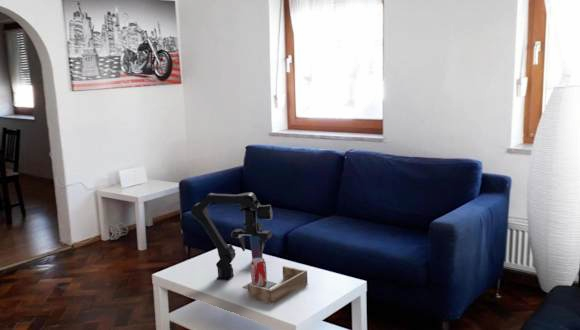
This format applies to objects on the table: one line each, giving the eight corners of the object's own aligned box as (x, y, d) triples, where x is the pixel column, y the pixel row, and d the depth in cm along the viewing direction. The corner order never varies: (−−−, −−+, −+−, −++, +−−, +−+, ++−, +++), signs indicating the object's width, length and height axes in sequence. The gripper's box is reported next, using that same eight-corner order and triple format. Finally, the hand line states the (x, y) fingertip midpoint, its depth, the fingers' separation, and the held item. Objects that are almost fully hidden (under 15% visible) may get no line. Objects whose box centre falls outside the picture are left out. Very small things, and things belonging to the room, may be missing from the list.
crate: (248, 297, 237) (247, 284, 236) (284, 277, 258) (284, 265, 257) (272, 304, 229) (271, 290, 228) (307, 283, 250) (307, 270, 249)
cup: (250, 259, 285) (249, 232, 282) (263, 258, 285) (262, 231, 283) (251, 264, 278) (249, 236, 276) (264, 263, 279) (262, 235, 276)
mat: (242, 287, 249) (242, 286, 249) (257, 279, 257) (257, 278, 257) (261, 292, 242) (261, 291, 242) (276, 283, 251) (276, 283, 251)
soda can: (265, 288, 246) (263, 262, 244) (249, 287, 247) (248, 262, 245) (268, 282, 252) (267, 257, 250) (254, 281, 254) (252, 256, 252)
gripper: (275, 216, 259) (277, 247, 261) (240, 214, 266) (242, 245, 268) (266, 222, 248) (268, 255, 251) (229, 220, 255) (232, 252, 258)
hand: (252, 251), depth 257 cm, fingers open, 9 cm apart
